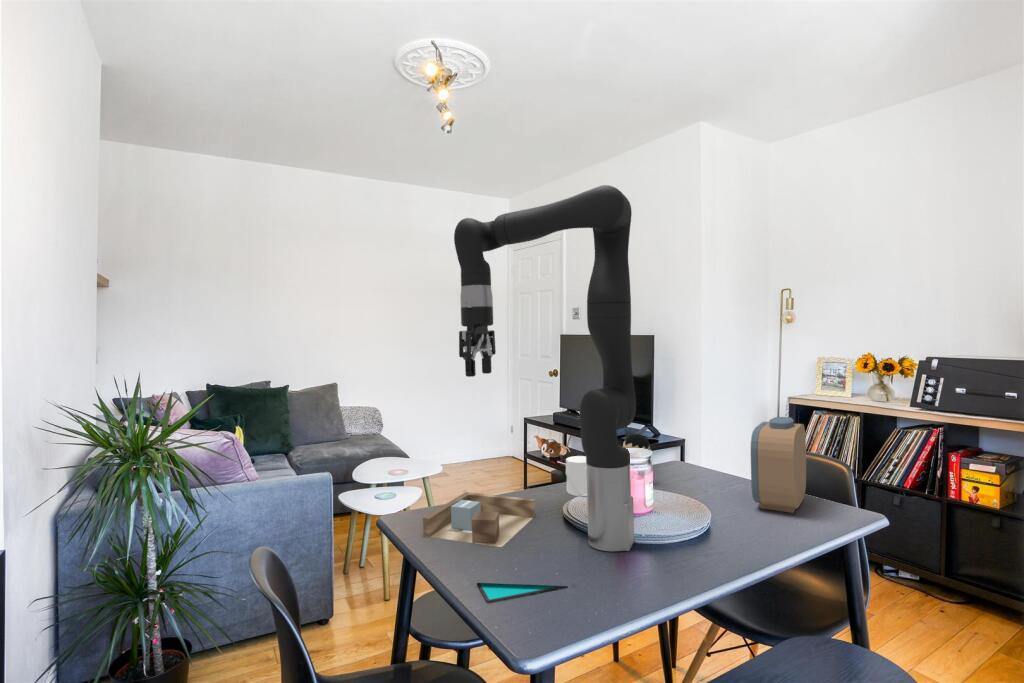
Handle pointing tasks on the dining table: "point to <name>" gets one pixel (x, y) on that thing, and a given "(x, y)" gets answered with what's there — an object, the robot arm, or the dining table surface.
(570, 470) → the mug
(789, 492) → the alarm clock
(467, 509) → the block
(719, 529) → the dining table surface
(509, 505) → the tray
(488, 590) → the flat teal bar
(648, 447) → the toy
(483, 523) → the walnut block
